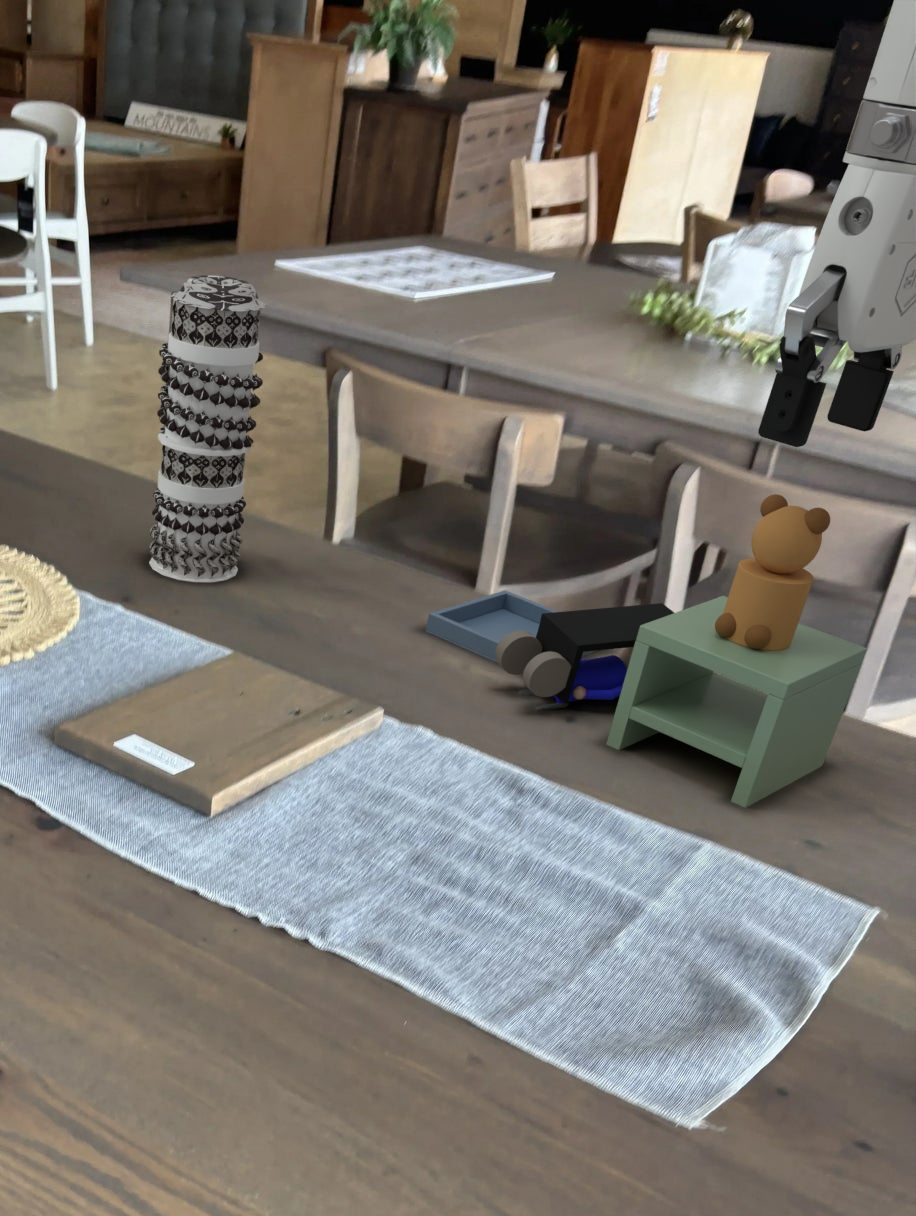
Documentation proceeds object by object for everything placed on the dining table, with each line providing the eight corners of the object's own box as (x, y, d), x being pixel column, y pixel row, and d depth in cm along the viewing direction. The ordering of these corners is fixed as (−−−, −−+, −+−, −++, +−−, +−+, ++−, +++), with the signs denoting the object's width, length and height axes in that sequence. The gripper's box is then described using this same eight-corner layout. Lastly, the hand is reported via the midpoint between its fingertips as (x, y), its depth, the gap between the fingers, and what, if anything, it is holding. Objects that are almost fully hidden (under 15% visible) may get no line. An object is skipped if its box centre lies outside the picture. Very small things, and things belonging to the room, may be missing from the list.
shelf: (686, 712, 116) (723, 595, 111) (821, 769, 110) (868, 648, 104) (604, 747, 109) (639, 625, 103) (743, 811, 102) (789, 684, 97)
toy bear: (740, 617, 107) (783, 485, 101) (803, 641, 104) (851, 506, 98) (701, 632, 103) (743, 497, 98) (765, 657, 100) (812, 519, 95)
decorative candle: (143, 549, 137) (163, 266, 122) (238, 556, 138) (269, 275, 123) (144, 582, 129) (165, 285, 115) (244, 590, 130) (277, 296, 116)
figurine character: (525, 741, 112) (689, 710, 116) (537, 652, 108) (707, 623, 111) (486, 704, 117) (643, 676, 121) (496, 618, 113) (659, 592, 116)
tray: (500, 610, 132) (505, 589, 131) (601, 652, 126) (607, 631, 124) (424, 634, 125) (428, 612, 124) (526, 679, 119) (532, 657, 118)
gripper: (913, 151, 78) (805, 464, 88) (1031, 155, 89) (923, 435, 99) (790, 131, 83) (700, 432, 92) (916, 137, 93) (823, 407, 103)
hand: (815, 433), depth 95 cm, fingers open, 9 cm apart
